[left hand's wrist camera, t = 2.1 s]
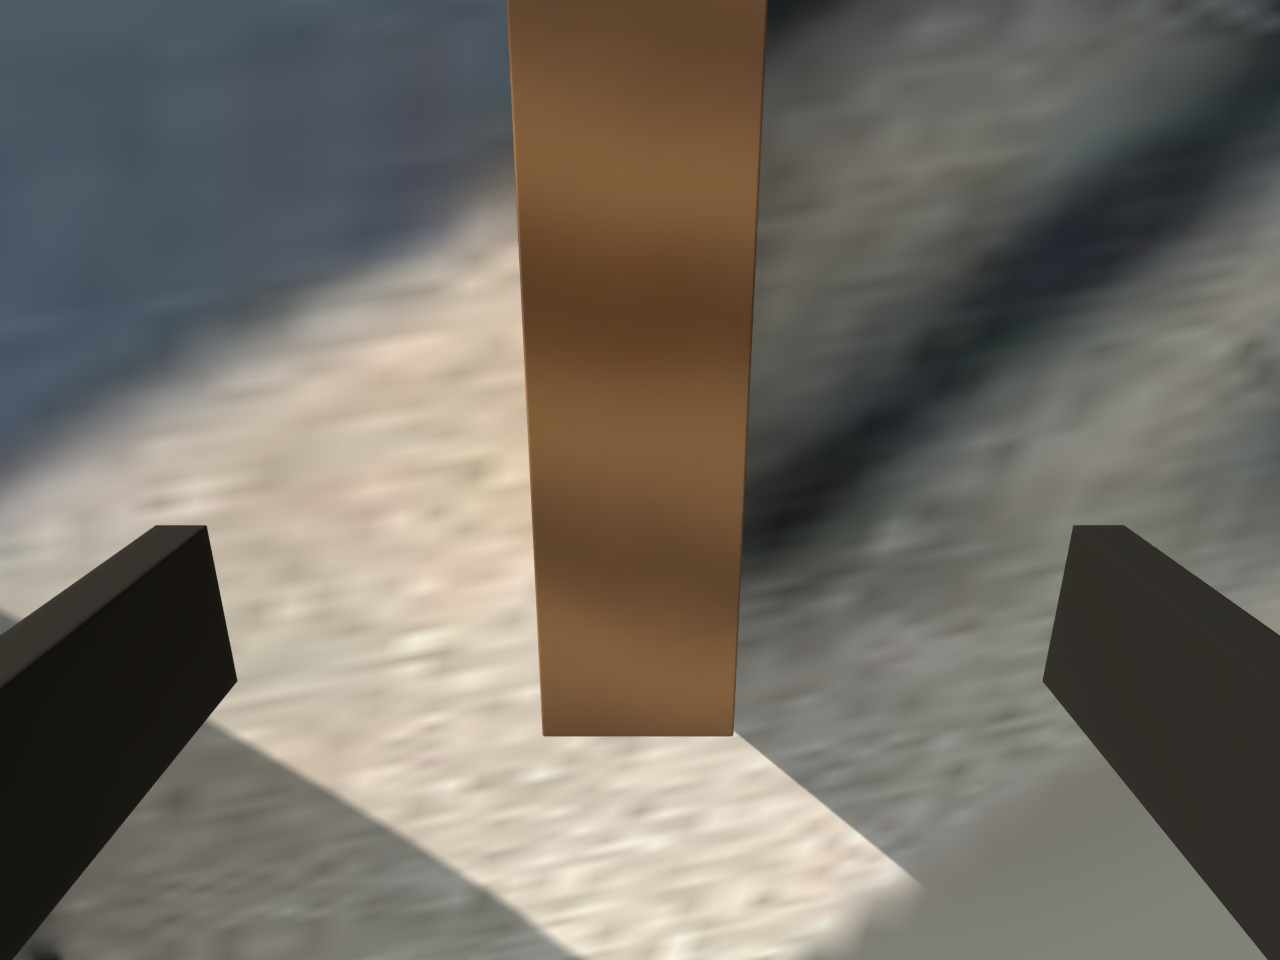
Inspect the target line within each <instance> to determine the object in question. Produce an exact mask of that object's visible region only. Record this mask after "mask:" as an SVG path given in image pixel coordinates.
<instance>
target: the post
mask: <svg viewBox="0 0 1280 960" xmlns="http://www.w3.org/2000/svg"><path fill="white" fill-rule="evenodd" d="M767 8H768V0H507V19H508V39H509V60H510V80H511V100H512V120H513V141H514V161H515V181H516V202H517V222H518V242H519V263H520V283H521V303H522V324H523V344H524V364H525V385H526V405H527V425H528V446H529V466H530V486H531V507H532V527H533V547H534V567H535V588H536V608H537V628H538V649H539V669H540V689H541V710H542V730H543V736H733V729H734V708H735V687H736V665H737V644H738V623H739V602H740V581H741V559H742V538H743V517H744V496H745V475H746V453H747V432H748V411H749V390H750V369H751V347H752V326H753V305H754V284H755V263H756V242H757V220H758V199H759V178H760V157H761V136H762V114H763V93H764V72H765V51H766V30H767Z"/></svg>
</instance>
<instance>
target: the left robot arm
mask: <svg viewBox="0 0 1280 960" xmlns="http://www.w3.org/2000/svg"><path fill="white" fill-rule="evenodd" d="M236 682H237V677H236V672H235V666H234V661H233V656H232V651H231V646H230V641H229V636H228V631H227V626H226V621H225V616H224V611H223V606H222V601H221V596H220V591H219V586H218V581H217V576H216V571H215V566H214V561H213V556H212V551H211V546H210V540H209V535H208V530H207V525H156V526H154V527H153V528H152V529H150V530H149V531H147V532H146V533H145V534H143V535H142V536H140V537H139V538H137V539H136V540H135V541H133V542H132V543H130V544H129V545H128V546H126V547H125V548H123V549H122V550H120V551H119V552H118V553H116V554H115V555H113V556H112V557H111V558H109V559H108V560H106V561H105V562H104V563H102V564H101V565H99V566H98V567H96V568H95V569H94V570H92V571H91V572H89V573H88V574H87V575H85V576H84V577H82V578H81V579H79V580H78V581H77V582H75V583H74V584H72V585H71V586H70V587H68V588H67V589H65V590H64V591H63V592H61V593H60V594H58V595H57V596H55V597H54V598H53V599H51V600H50V601H48V602H47V603H46V604H44V605H43V606H41V607H40V608H39V609H37V610H36V611H34V612H33V613H31V614H30V615H29V616H27V617H26V618H24V619H23V620H22V621H20V622H19V623H17V624H16V625H14V626H13V627H12V628H10V629H9V630H7V631H6V632H5V633H3V634H2V635H0V960H12V959H13V958H14V957H15V956H16V954H17V953H18V952H19V951H20V949H21V948H22V947H23V946H24V944H25V943H26V942H27V941H28V940H29V938H30V937H31V936H32V935H33V933H34V932H35V931H36V930H37V928H38V927H39V926H40V925H41V923H42V922H43V921H44V920H45V919H46V917H47V916H48V915H49V914H50V912H51V911H52V910H53V909H54V907H55V906H56V905H57V904H58V902H59V901H60V900H61V899H62V897H63V896H64V895H65V894H66V893H67V891H68V890H69V889H70V888H71V886H72V885H73V884H74V883H75V881H76V880H77V879H78V878H79V876H80V875H81V874H82V873H83V871H84V870H85V869H86V868H87V867H88V865H89V864H90V863H91V862H92V860H93V859H94V858H95V857H96V855H97V854H98V853H99V852H100V850H101V849H102V848H103V847H104V846H105V844H106V843H107V842H108V841H109V839H110V838H111V837H112V836H113V834H114V833H115V832H116V831H117V829H118V828H119V827H120V826H121V824H122V823H123V822H124V821H125V820H126V818H127V817H128V816H129V815H130V813H131V812H132V811H133V810H134V808H135V807H136V806H137V805H138V803H139V802H140V801H141V800H142V798H143V797H144V796H145V795H146V794H147V792H148V791H149V790H150V789H151V787H152V786H153V785H154V784H155V782H156V781H157V780H158V779H159V777H160V776H161V775H162V774H163V773H164V771H165V770H166V769H167V768H168V766H169V765H170V764H171V763H172V761H173V760H174V759H175V758H176V756H177V755H178V754H179V753H180V751H181V750H182V749H183V748H184V747H185V745H186V744H187V743H188V742H189V740H190V739H191V738H192V737H193V735H194V734H195V733H196V732H197V730H198V729H199V728H200V727H201V725H202V724H203V723H204V722H205V721H206V719H207V718H208V717H209V716H210V714H211V713H212V712H213V711H214V709H215V708H216V707H217V706H218V704H219V703H220V702H221V701H222V700H223V698H224V697H225V696H226V695H227V693H228V692H229V691H230V690H231V688H232V687H233V686H234V685H235V683H236ZM1043 682H1044V683H1045V685H1046V686H1047V687H1048V688H1049V690H1050V691H1051V692H1052V693H1053V695H1054V696H1055V697H1056V698H1057V700H1058V701H1059V702H1060V703H1061V704H1062V706H1063V707H1064V708H1065V709H1066V711H1067V712H1068V713H1069V714H1070V716H1071V717H1072V718H1073V719H1074V721H1075V722H1076V723H1077V724H1078V725H1079V727H1080V728H1081V729H1082V730H1083V732H1084V733H1085V734H1086V735H1087V737H1088V738H1089V739H1090V740H1091V742H1092V743H1093V744H1094V745H1095V747H1096V748H1097V749H1098V750H1099V751H1100V753H1101V754H1102V755H1103V756H1104V758H1105V759H1106V760H1107V761H1108V763H1109V764H1110V765H1111V766H1112V768H1113V769H1114V770H1115V771H1116V773H1117V774H1118V775H1119V776H1120V777H1121V779H1122V780H1123V781H1124V782H1125V784H1126V785H1127V786H1128V787H1129V789H1130V790H1131V791H1132V792H1133V793H1134V795H1135V796H1136V797H1137V798H1138V800H1139V801H1140V802H1141V803H1142V805H1143V806H1144V807H1145V808H1146V810H1147V811H1148V812H1149V813H1150V815H1151V816H1152V817H1153V818H1154V820H1155V821H1156V822H1157V823H1158V824H1159V826H1160V827H1161V828H1162V829H1163V831H1164V832H1165V833H1166V834H1167V836H1168V837H1169V838H1170V839H1171V841H1172V842H1173V843H1174V844H1175V845H1176V847H1177V848H1178V849H1179V850H1180V852H1181V853H1182V854H1183V855H1184V857H1185V858H1186V859H1187V860H1188V862H1189V863H1190V864H1191V865H1192V867H1193V868H1194V869H1195V870H1196V871H1197V873H1198V874H1199V875H1200V876H1201V878H1202V879H1203V880H1204V881H1205V883H1206V884H1207V885H1208V886H1209V888H1210V889H1211V890H1212V891H1213V893H1214V894H1215V895H1216V896H1217V897H1218V899H1219V900H1220V901H1221V902H1222V904H1223V905H1224V906H1225V907H1226V909H1227V910H1228V911H1229V912H1230V914H1231V915H1232V916H1233V917H1234V919H1235V920H1236V921H1237V922H1238V923H1239V925H1240V926H1241V927H1242V928H1243V930H1244V931H1245V932H1246V933H1247V935H1248V936H1249V937H1250V938H1251V940H1252V941H1253V942H1254V943H1255V944H1256V946H1257V947H1258V948H1259V949H1260V951H1261V952H1262V953H1263V954H1264V956H1265V957H1266V958H1267V959H1268V960H1280V635H1278V634H1277V633H1275V632H1274V631H1273V630H1271V629H1270V628H1268V627H1267V626H1266V625H1264V624H1263V623H1261V622H1260V621H1258V620H1257V619H1256V618H1254V617H1253V616H1251V615H1250V614H1249V613H1247V612H1246V611H1244V610H1243V609H1241V608H1240V607H1239V606H1237V605H1236V604H1234V603H1233V602H1232V601H1230V600H1229V599H1227V598H1226V597H1225V596H1223V595H1222V594H1220V593H1219V592H1217V591H1216V590H1215V589H1213V588H1212V587H1210V586H1209V585H1208V584H1206V583H1205V582H1203V581H1202V580H1201V579H1199V578H1198V577H1196V576H1195V575H1193V574H1192V573H1191V572H1189V571H1188V570H1186V569H1185V568H1184V567H1182V566H1181V565H1179V564H1178V563H1176V562H1175V561H1174V560H1172V559H1171V558H1169V557H1168V556H1167V555H1165V554H1164V553H1162V552H1161V551H1160V550H1158V549H1157V548H1155V547H1154V546H1152V545H1151V544H1150V543H1148V542H1147V541H1145V540H1144V539H1143V538H1141V537H1140V536H1138V535H1137V534H1135V533H1134V532H1133V531H1131V530H1130V529H1128V528H1127V527H1126V526H1124V525H1073V530H1072V535H1071V540H1070V546H1069V551H1068V556H1067V561H1066V566H1065V571H1064V576H1063V581H1062V586H1061V591H1060V596H1059V601H1058V606H1057V611H1056V616H1055V621H1054V626H1053V631H1052V636H1051V641H1050V646H1049V651H1048V656H1047V661H1046V666H1045V672H1044V677H1043Z"/></svg>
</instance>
